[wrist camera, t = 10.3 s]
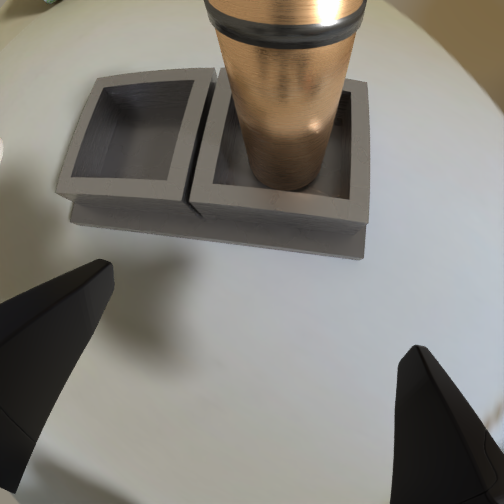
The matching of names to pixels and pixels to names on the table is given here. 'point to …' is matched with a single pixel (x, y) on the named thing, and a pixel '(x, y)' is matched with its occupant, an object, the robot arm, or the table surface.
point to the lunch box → (49, 1)
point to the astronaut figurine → (1, 149)
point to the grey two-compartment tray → (210, 168)
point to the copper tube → (286, 78)
